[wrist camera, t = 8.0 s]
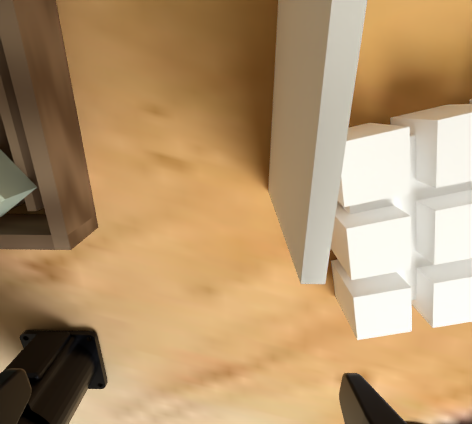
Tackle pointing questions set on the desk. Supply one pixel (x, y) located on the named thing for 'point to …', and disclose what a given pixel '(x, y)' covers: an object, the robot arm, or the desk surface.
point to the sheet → (312, 122)
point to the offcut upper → (12, 184)
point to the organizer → (405, 222)
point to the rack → (41, 130)
